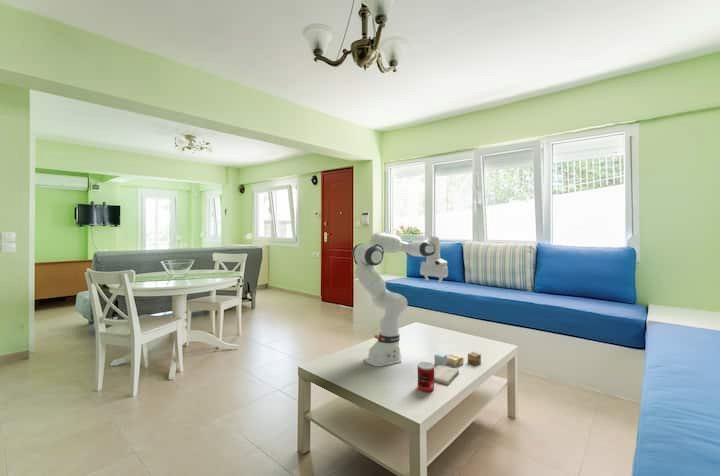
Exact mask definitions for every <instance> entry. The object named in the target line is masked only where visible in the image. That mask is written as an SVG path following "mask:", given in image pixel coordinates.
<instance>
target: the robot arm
mask: <svg viewBox="0 0 720 476" xmlns="http://www.w3.org/2000/svg"><path fill="white" fill-rule="evenodd" d="M351 251H352V252H351V253H352V257H353V259H354V260H353V261H354V264H356V265H357V266H356V267H355V270H354V274H355V276H356V279H357V280H358V281H359V283H360V284H361V286H363V288H364V289H365V290H366V291H367V292H368V293H369V294H370V296H371V298H372V303H373V304H374V305H375V306H376V307H377V308H380V309H382V310H385V312H384V316H383V317H382V318H380V321H379V334H378V335H377V334H374V339H376V340H377V341H376V342H375V343H374V344H373V345H372V346H370V348H369V349H368V356H365V357H364V361H365V362H366V363H367V364H369V365H372V366H374V367H378V368H379V367H383V366H389V365H393V364H394V365H395V364H400V363H401V362H402V353H401V348H400V331H399V330H400V327H399V326H400V319H401V316H402V314H403V313H404V312H405V311H406V310H407V307H408V299H407V298H406V297H405V296H404V295H402V294H400V293H397V292H394V291H393V292H392V291H391V290H388V288H387V287H386V286H387V284H386V281H385V280H384V279H383V278H382V277H381V275H380V274H379V273H378V272H377V270H375V268H374V267H375V266H378V265H381V263H382V261H383V258H384V255H385V254H384V253H386V254H387V253H388V254H397V253H398V252H402V253H405V254H406V255H408V256H409V257H421V258H426V259H425V260H422V261H420V266H419V267H420V269H419V273H420V275H422V276H424V278H425V282H426V283H430V279H429V277H435V278H438V281H437V285H441V284H442V281H443V279H445V278H447V277H448V276H449V269H448V266H447V265H448V261H447V260H445V259H443V258H441V240H440V237H439V236H436V235H427V237H426V238H424V239H423V240H409V241H406V242H405V241H402V238H401V237H400V236H398V235H395V234H392V233H387V232H376V233H373V234H372V235H371V236H370V240H369V243H368V244H367V243H365V244H364V243H357V244H355V246H354V247H353V249H352V250H351Z"/></svg>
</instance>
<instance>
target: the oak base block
mask: <svg viewBox="0 0 720 476" xmlns="http://www.w3.org/2000/svg"><path fill="white" fill-rule="evenodd" d="M461 364H462V365H464V357H463V356H461V355H458V354H455V353H451V354H448V355H447V365H450V366H451V367H453V368H454V367H455V368H456V367H459V365H460V366H462V365H461Z"/></svg>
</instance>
